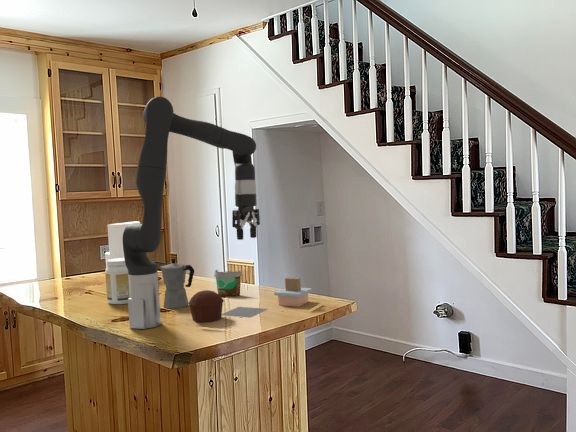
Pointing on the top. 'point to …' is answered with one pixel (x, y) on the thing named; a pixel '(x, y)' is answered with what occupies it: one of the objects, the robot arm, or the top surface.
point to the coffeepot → (176, 284)
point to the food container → (228, 283)
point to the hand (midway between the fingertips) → (246, 238)
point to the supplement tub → (117, 281)
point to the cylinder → (116, 240)
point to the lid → (293, 288)
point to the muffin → (206, 306)
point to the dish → (293, 300)
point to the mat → (244, 312)
